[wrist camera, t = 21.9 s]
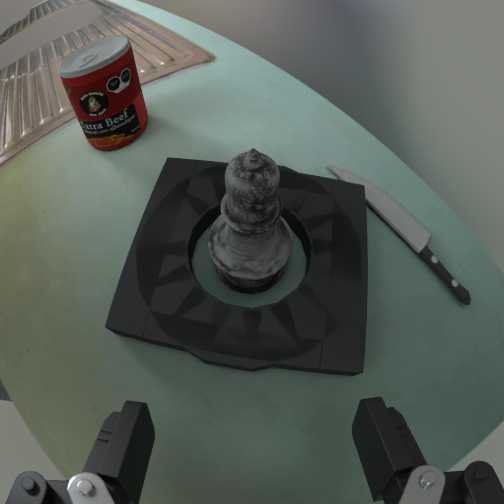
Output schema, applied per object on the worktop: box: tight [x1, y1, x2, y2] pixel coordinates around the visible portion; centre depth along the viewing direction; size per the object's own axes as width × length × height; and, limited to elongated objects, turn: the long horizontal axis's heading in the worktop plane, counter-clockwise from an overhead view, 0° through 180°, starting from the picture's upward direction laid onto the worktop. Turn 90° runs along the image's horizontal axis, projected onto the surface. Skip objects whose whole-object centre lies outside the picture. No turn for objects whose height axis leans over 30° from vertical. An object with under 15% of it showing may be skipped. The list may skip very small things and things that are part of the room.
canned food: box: [58, 35, 147, 150], centre depth 27 cm, size 8×8×11 cm
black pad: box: [105, 158, 368, 376], centre depth 24 cm, size 18×17×2 cm
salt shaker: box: [208, 148, 293, 294], centre depth 19 cm, size 6×6×12 cm
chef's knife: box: [326, 165, 471, 305], centre depth 26 cm, size 19×1×3 cm
